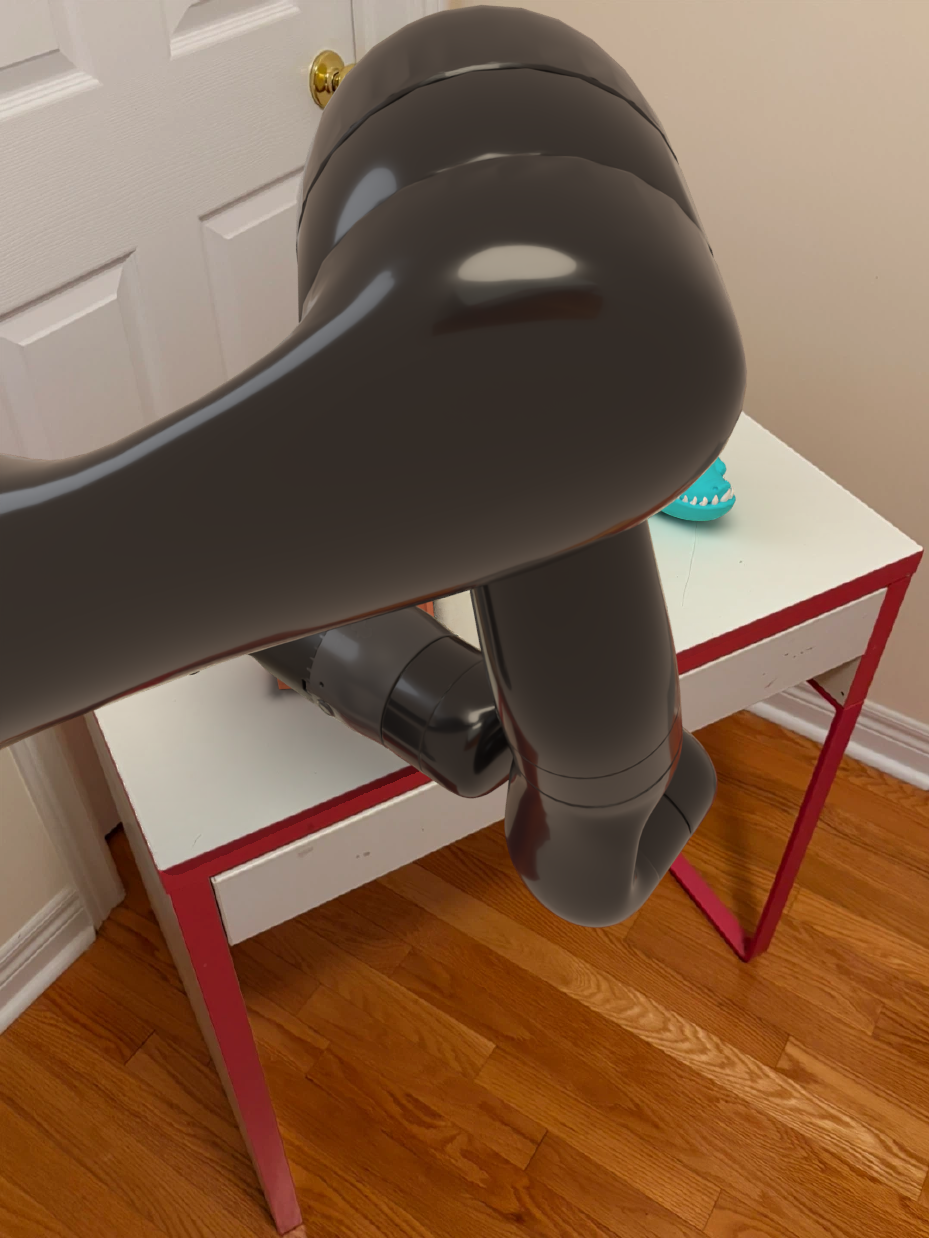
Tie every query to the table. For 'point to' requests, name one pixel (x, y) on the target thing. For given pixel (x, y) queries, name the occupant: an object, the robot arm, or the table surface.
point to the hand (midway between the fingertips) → (166, 527)
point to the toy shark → (705, 497)
